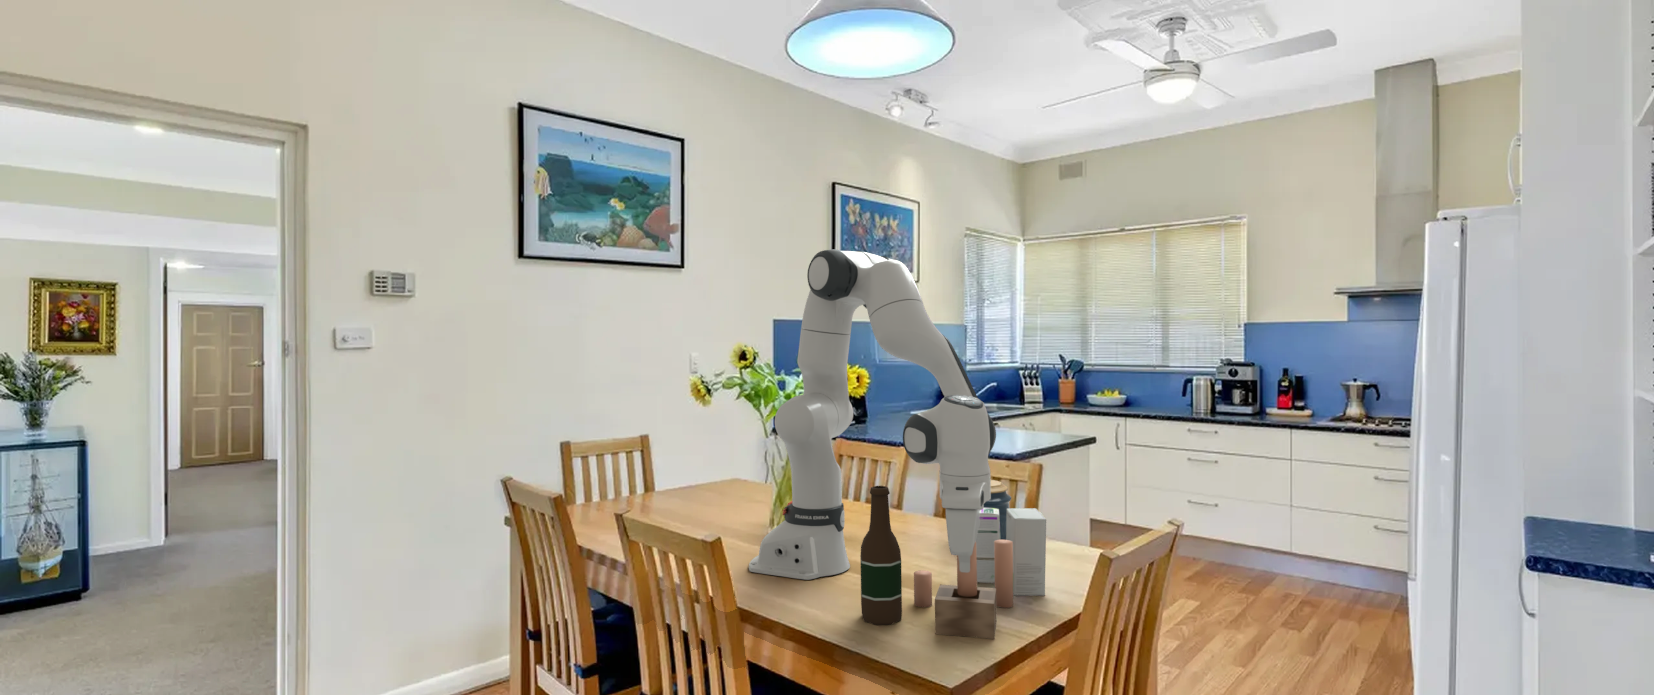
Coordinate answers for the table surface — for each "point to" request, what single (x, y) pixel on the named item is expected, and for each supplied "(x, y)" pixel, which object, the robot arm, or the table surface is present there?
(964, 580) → the pin medium
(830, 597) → the table surface
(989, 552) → the syrup box
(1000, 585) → the pin long
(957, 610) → the hole block
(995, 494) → the canister
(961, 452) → the robot arm
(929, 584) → the pin short
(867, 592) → the beer bottle
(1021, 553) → the skincare box
